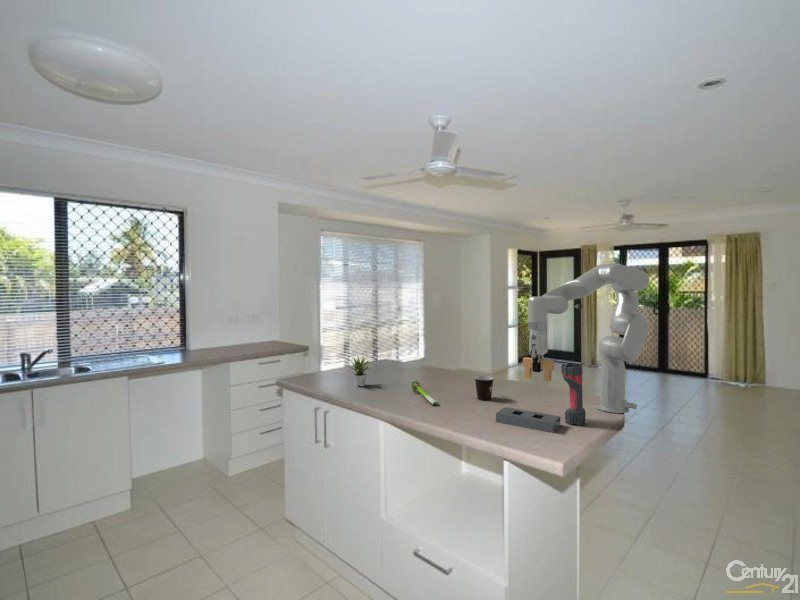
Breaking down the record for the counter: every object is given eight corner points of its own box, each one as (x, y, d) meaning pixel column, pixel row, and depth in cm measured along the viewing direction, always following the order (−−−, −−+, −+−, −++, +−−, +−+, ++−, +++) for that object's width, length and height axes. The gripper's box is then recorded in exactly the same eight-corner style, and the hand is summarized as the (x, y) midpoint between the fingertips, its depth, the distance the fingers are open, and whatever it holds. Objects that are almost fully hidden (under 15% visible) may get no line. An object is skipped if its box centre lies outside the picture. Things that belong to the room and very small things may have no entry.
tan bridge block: (553, 380, 170) (554, 360, 169) (551, 381, 167) (552, 362, 167) (524, 376, 177) (525, 357, 176) (522, 377, 174) (522, 358, 174)
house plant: (372, 389, 218) (372, 358, 217) (346, 389, 218) (345, 358, 217) (374, 383, 232) (374, 353, 232) (349, 383, 232) (349, 354, 232)
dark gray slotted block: (560, 425, 160) (560, 416, 160) (553, 432, 152) (553, 423, 152) (505, 415, 173) (505, 407, 173) (495, 421, 165) (495, 413, 165)
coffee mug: (482, 402, 193) (482, 380, 192) (471, 398, 200) (471, 377, 200) (502, 399, 198) (502, 378, 198) (490, 394, 206) (490, 374, 205)
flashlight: (556, 421, 165) (557, 363, 164) (571, 419, 168) (572, 362, 167) (572, 427, 157) (572, 367, 157) (587, 424, 161) (587, 365, 160)
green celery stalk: (428, 411, 187) (407, 390, 215) (442, 411, 189) (419, 390, 217) (430, 398, 186) (409, 378, 215) (444, 398, 188) (421, 379, 217)
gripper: (540, 328, 162) (541, 375, 163) (552, 325, 176) (552, 368, 176) (521, 328, 167) (522, 373, 167) (534, 324, 180) (535, 366, 181)
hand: (537, 370), depth 172 cm, fingers closed on tan bridge block, 3 cm apart
